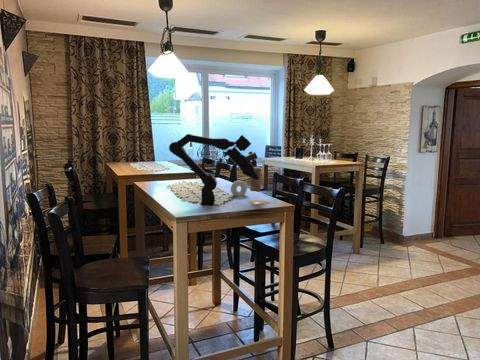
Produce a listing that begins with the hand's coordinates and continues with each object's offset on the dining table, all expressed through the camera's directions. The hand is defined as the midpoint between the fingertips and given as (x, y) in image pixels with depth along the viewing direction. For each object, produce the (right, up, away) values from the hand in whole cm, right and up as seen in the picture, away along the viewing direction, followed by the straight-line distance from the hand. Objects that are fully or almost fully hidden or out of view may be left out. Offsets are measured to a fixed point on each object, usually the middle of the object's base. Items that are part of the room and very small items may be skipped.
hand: (258, 178), depth 202 cm
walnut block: (-1, -6, +1) cm, 6 cm away
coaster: (0, -13, +2) cm, 13 cm away
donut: (-10, -11, +20) cm, 25 cm away
